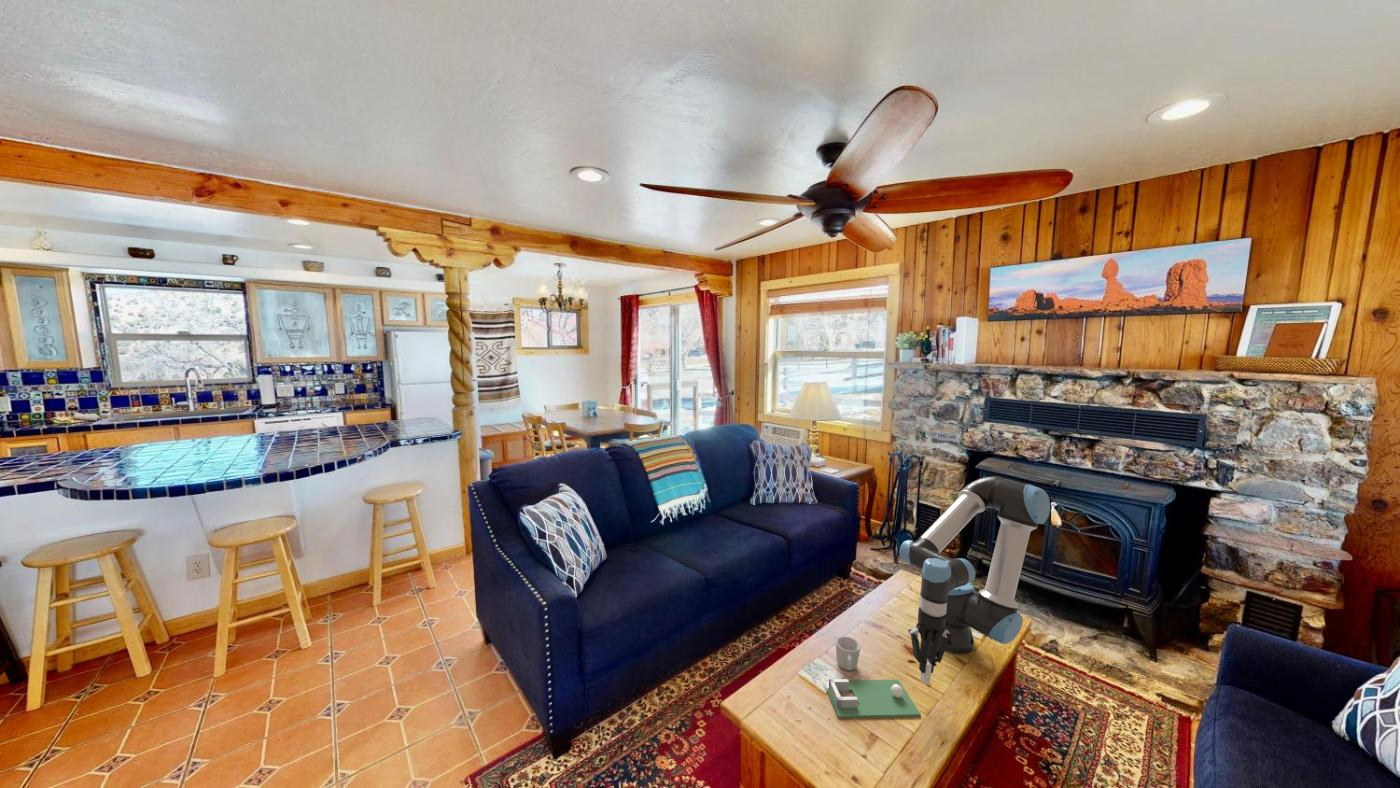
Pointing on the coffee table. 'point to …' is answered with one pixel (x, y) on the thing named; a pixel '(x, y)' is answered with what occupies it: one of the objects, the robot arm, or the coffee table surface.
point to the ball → (897, 691)
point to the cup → (847, 652)
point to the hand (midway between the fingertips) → (925, 681)
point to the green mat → (876, 701)
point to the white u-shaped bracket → (843, 685)
